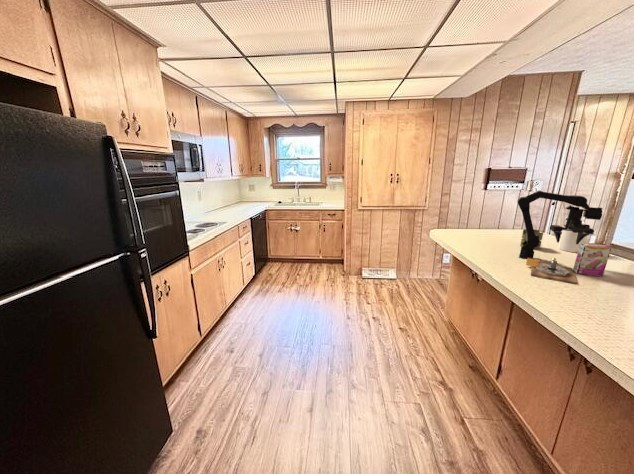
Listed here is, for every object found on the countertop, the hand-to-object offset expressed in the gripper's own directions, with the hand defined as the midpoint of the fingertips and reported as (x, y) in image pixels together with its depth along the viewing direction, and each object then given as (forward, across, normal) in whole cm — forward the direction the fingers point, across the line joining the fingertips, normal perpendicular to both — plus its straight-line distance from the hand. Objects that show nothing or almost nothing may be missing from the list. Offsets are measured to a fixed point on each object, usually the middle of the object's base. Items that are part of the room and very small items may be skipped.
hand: (567, 243), depth 158 cm
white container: (+12, +18, +30) cm, 37 cm away
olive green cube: (+13, -5, +31) cm, 34 cm away
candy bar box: (+12, +4, -17) cm, 21 cm away
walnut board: (+12, -13, -20) cm, 27 cm away
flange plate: (+11, -16, -19) cm, 27 cm away
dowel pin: (+12, -9, -11) cm, 19 cm away
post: (+12, -14, -21) cm, 28 cm away
